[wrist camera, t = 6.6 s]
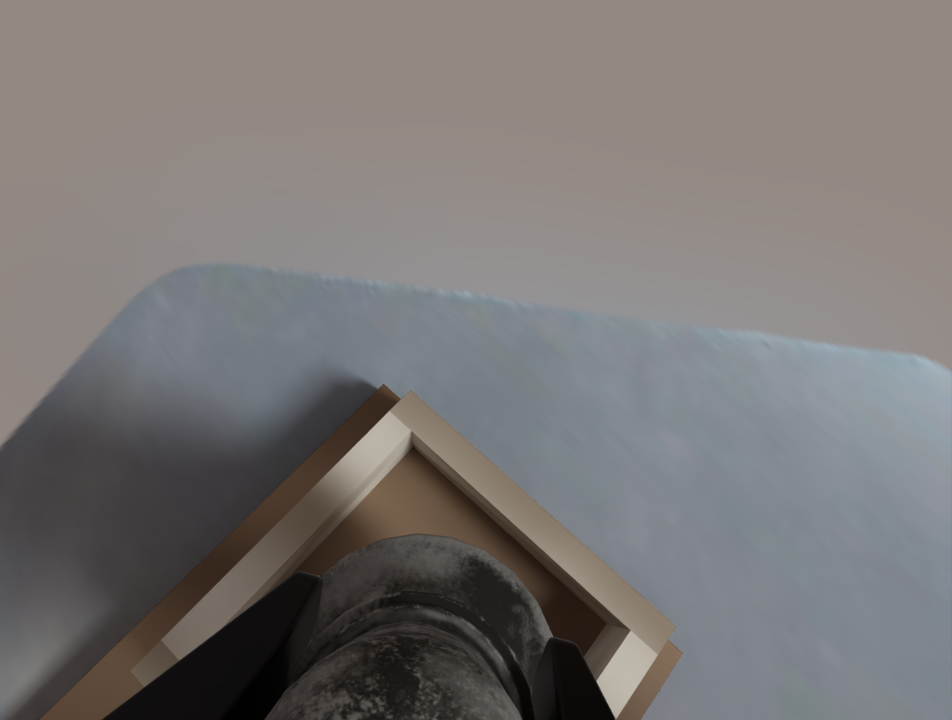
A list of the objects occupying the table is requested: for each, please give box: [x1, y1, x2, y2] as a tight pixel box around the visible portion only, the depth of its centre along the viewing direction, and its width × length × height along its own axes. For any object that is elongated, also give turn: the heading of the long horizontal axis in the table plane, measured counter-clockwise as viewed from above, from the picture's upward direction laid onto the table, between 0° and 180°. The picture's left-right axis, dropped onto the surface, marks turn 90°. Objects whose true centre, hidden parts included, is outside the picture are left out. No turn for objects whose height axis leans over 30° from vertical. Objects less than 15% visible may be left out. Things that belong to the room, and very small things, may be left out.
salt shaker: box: [265, 533, 553, 720], centre depth 9 cm, size 6×6×12 cm
